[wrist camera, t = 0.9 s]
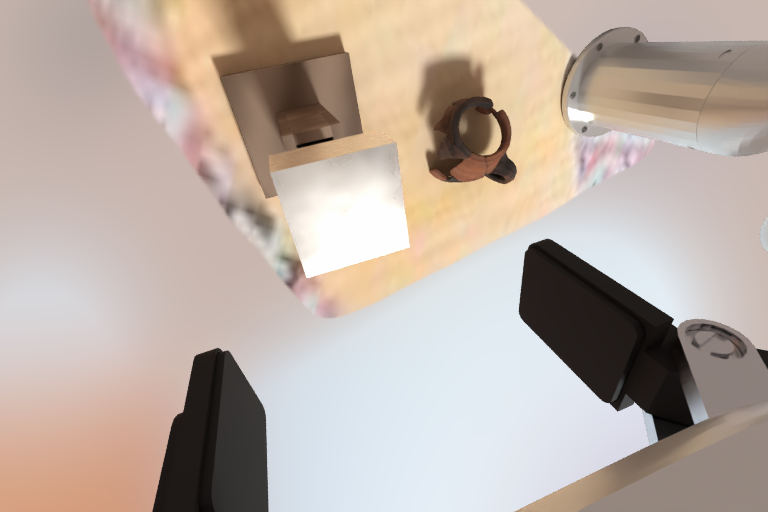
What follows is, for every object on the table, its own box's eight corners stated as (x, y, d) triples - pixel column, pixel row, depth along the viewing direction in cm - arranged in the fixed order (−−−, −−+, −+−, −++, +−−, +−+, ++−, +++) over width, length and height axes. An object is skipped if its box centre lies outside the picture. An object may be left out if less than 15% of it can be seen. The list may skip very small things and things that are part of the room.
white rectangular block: (337, 101, 28) (396, 142, 16) (352, 170, 31) (409, 246, 19) (266, 116, 27) (270, 172, 15) (288, 186, 30) (306, 277, 18)
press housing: (345, 52, 33) (381, 54, 23) (366, 168, 40) (402, 208, 30) (221, 75, 31) (203, 89, 21) (265, 193, 38) (267, 246, 28)
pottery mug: (405, 168, 42) (433, 148, 34) (432, 103, 43) (465, 69, 35) (482, 209, 45) (524, 199, 37) (506, 147, 46) (551, 125, 38)
